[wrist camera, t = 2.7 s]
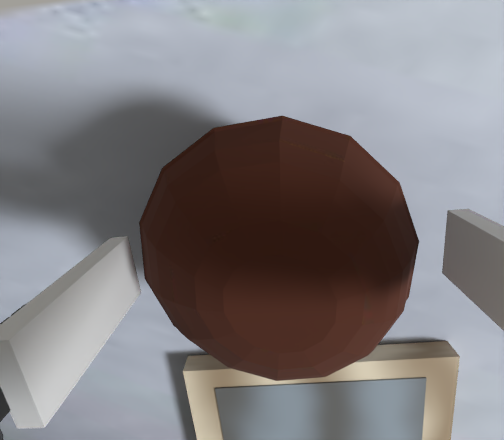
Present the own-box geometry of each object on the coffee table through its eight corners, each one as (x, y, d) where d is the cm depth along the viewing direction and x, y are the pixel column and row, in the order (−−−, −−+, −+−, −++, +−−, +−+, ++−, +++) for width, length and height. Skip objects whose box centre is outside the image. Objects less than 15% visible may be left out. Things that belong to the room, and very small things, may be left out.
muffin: (408, 210, 19) (546, 303, 10) (284, 326, 22) (297, 485, 13) (259, 70, 17) (250, 16, 8) (143, 218, 20) (34, 309, 11)
